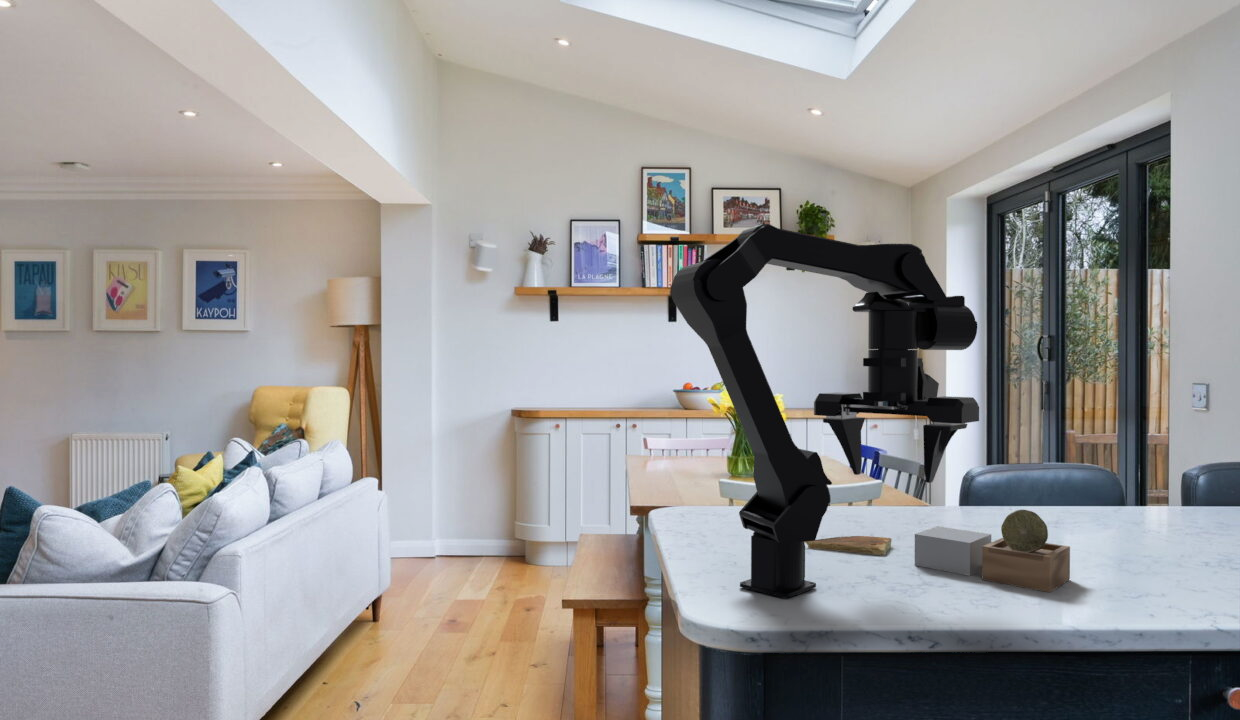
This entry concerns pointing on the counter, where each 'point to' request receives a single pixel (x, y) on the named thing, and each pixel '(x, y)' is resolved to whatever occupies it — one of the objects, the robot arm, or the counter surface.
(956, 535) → the grey stone block
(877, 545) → the shard
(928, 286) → the robot arm
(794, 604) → the counter surface
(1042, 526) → the lime
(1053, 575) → the brown hollow rimmed box
